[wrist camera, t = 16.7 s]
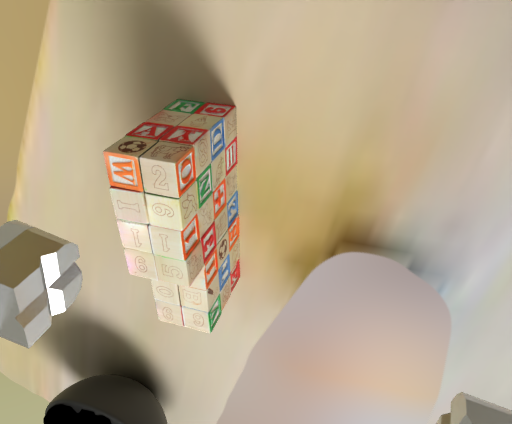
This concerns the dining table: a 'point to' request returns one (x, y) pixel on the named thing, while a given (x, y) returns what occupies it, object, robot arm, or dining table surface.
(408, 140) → the dining table surface
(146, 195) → the stack of blocks
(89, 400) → the coal bowl
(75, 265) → the robot arm
